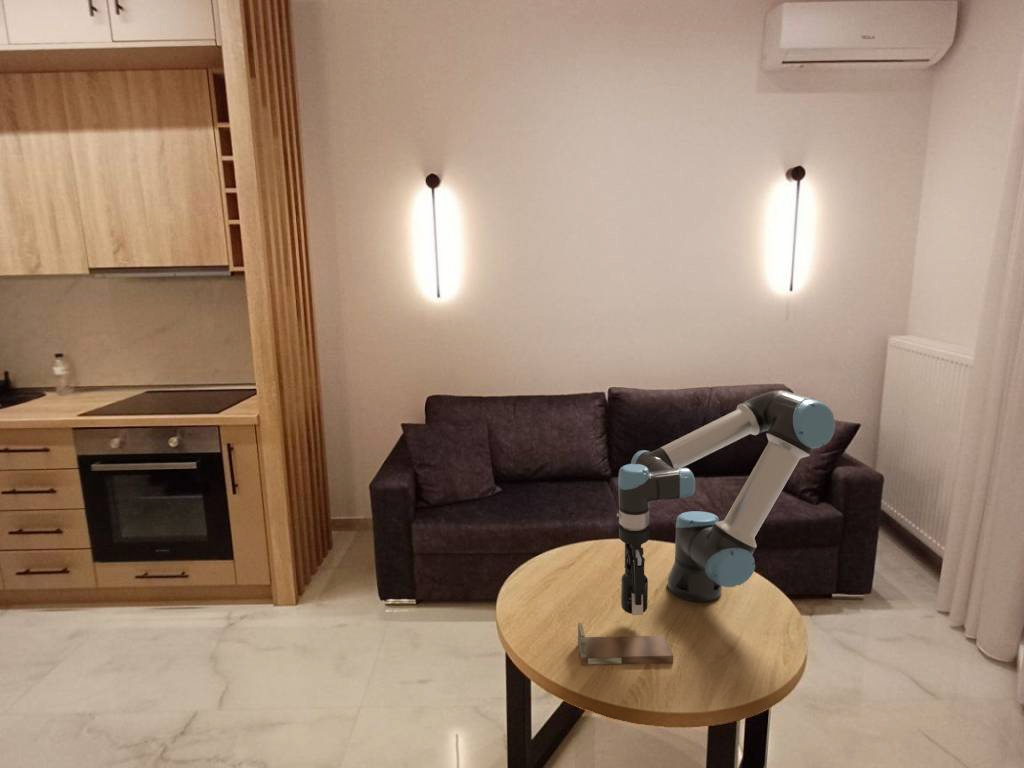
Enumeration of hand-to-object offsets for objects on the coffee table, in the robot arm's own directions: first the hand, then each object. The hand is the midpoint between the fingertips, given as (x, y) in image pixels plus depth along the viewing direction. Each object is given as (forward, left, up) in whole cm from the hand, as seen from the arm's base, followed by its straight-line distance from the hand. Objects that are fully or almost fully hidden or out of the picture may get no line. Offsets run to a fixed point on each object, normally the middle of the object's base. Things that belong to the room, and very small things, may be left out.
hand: (634, 605), depth 161 cm
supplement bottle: (0, 0, -1) cm, 1 cm away
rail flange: (+5, +12, -6) cm, 14 cm away
